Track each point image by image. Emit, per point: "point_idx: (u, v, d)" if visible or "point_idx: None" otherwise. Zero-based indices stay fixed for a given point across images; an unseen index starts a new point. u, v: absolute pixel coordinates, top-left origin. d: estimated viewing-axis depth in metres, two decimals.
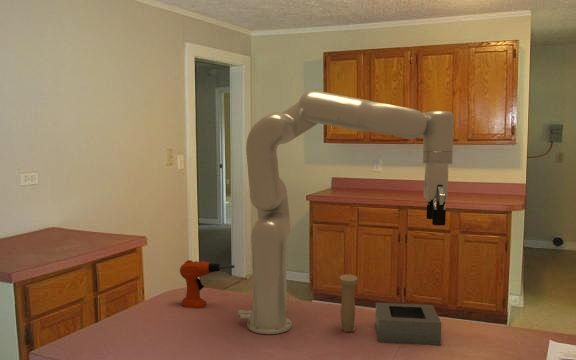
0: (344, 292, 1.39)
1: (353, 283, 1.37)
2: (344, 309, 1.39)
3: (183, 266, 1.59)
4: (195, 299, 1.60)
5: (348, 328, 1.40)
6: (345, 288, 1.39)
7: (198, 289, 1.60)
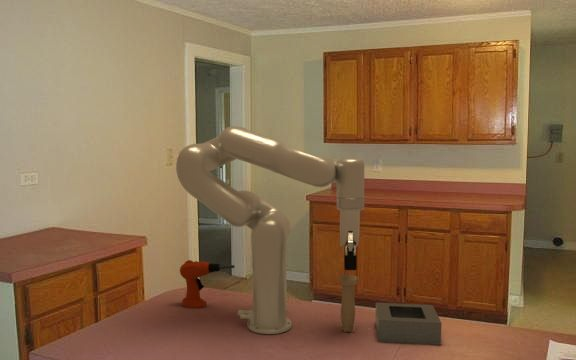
0: (344, 292, 1.39)
1: (353, 283, 1.37)
2: (344, 309, 1.39)
3: (183, 266, 1.59)
4: (195, 299, 1.60)
5: (348, 328, 1.40)
6: (345, 288, 1.39)
7: (198, 289, 1.60)
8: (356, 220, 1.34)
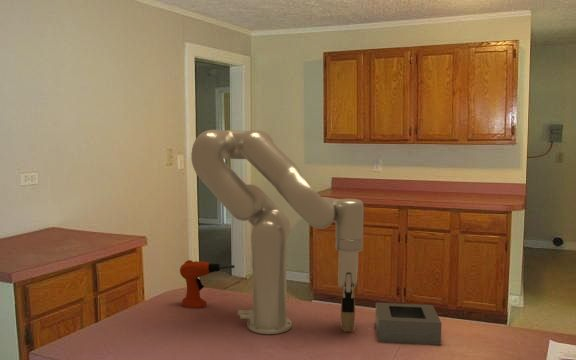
0: None
1: None
2: None
3: (183, 266, 1.59)
4: (195, 299, 1.60)
5: (348, 328, 1.40)
6: None
7: (198, 289, 1.60)
8: (354, 262, 1.35)
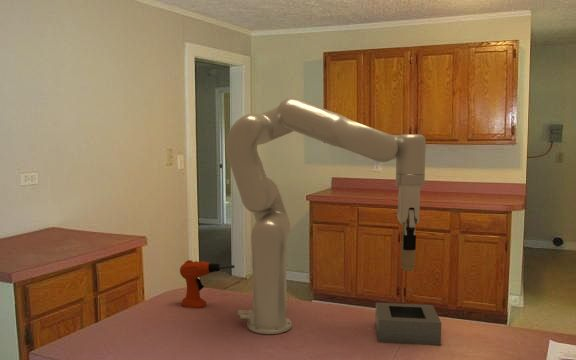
0: None
1: None
2: None
3: (183, 266, 1.59)
4: (195, 299, 1.60)
5: (409, 267, 1.36)
6: None
7: (198, 289, 1.60)
8: (417, 197, 1.31)
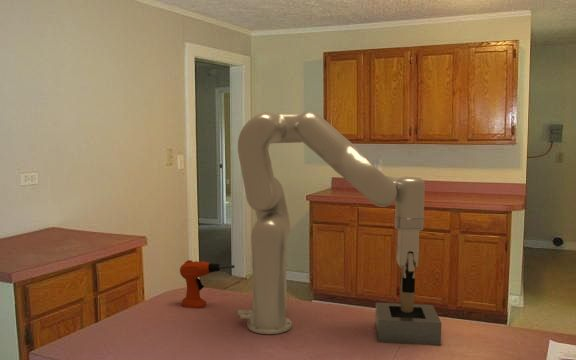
0: None
1: None
2: None
3: (183, 266, 1.59)
4: (195, 299, 1.60)
5: (408, 309, 1.37)
6: None
7: (198, 289, 1.60)
8: (416, 240, 1.32)
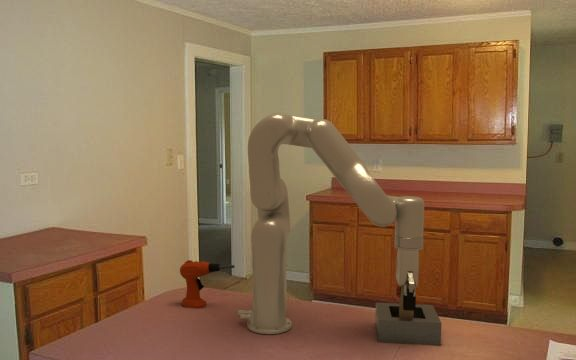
0: None
1: None
2: (403, 312, 1.37)
3: (183, 266, 1.59)
4: (195, 299, 1.60)
5: None
6: None
7: (198, 289, 1.60)
8: (416, 260, 1.33)
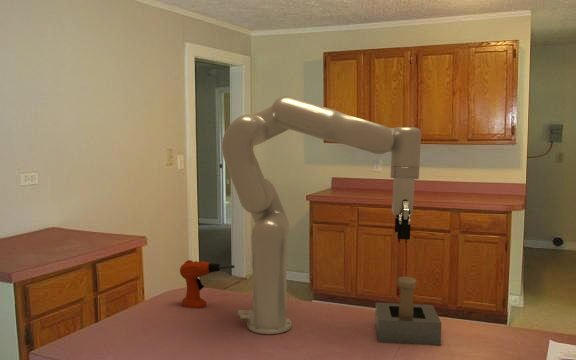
0: (403, 295, 1.37)
1: (413, 285, 1.35)
2: (403, 312, 1.37)
3: (183, 266, 1.59)
4: (195, 299, 1.60)
5: None
6: (404, 290, 1.37)
7: (198, 289, 1.60)
8: (411, 189, 1.33)
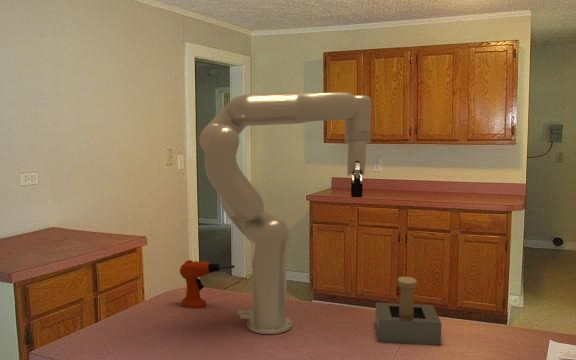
0: (403, 295, 1.37)
1: (413, 285, 1.35)
2: (403, 312, 1.37)
3: (183, 266, 1.59)
4: (195, 299, 1.60)
5: None
6: (404, 290, 1.37)
7: (198, 289, 1.60)
8: (363, 151, 1.46)
